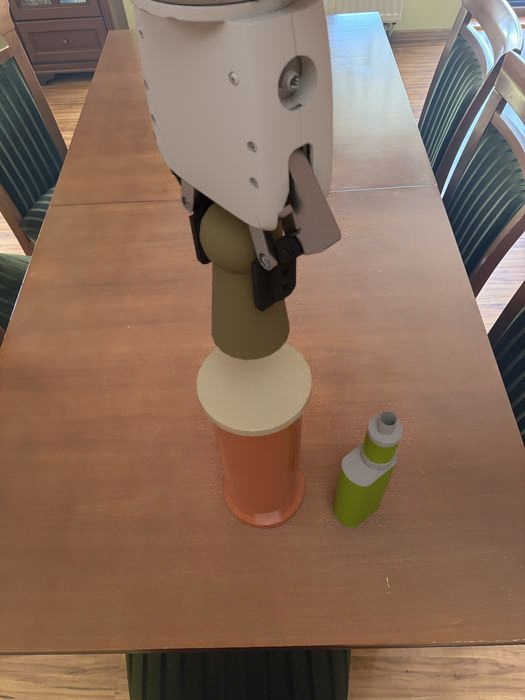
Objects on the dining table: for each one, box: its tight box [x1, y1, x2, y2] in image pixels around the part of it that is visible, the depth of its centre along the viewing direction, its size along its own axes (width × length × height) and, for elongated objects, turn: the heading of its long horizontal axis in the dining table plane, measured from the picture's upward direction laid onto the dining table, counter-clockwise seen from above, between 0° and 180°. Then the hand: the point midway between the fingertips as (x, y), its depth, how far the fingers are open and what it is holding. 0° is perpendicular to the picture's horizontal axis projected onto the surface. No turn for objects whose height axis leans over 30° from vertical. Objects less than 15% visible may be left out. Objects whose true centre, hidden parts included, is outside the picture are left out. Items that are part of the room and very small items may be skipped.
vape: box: [332, 410, 404, 529], centre depth 53 cm, size 4×6×20 cm, turn 127°
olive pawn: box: [200, 202, 291, 360], centre depth 35 cm, size 6×6×11 cm
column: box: [196, 341, 313, 529], centre depth 54 cm, size 10×10×24 cm
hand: (245, 273), depth 34 cm, fingers closed on olive pawn, 5 cm apart
